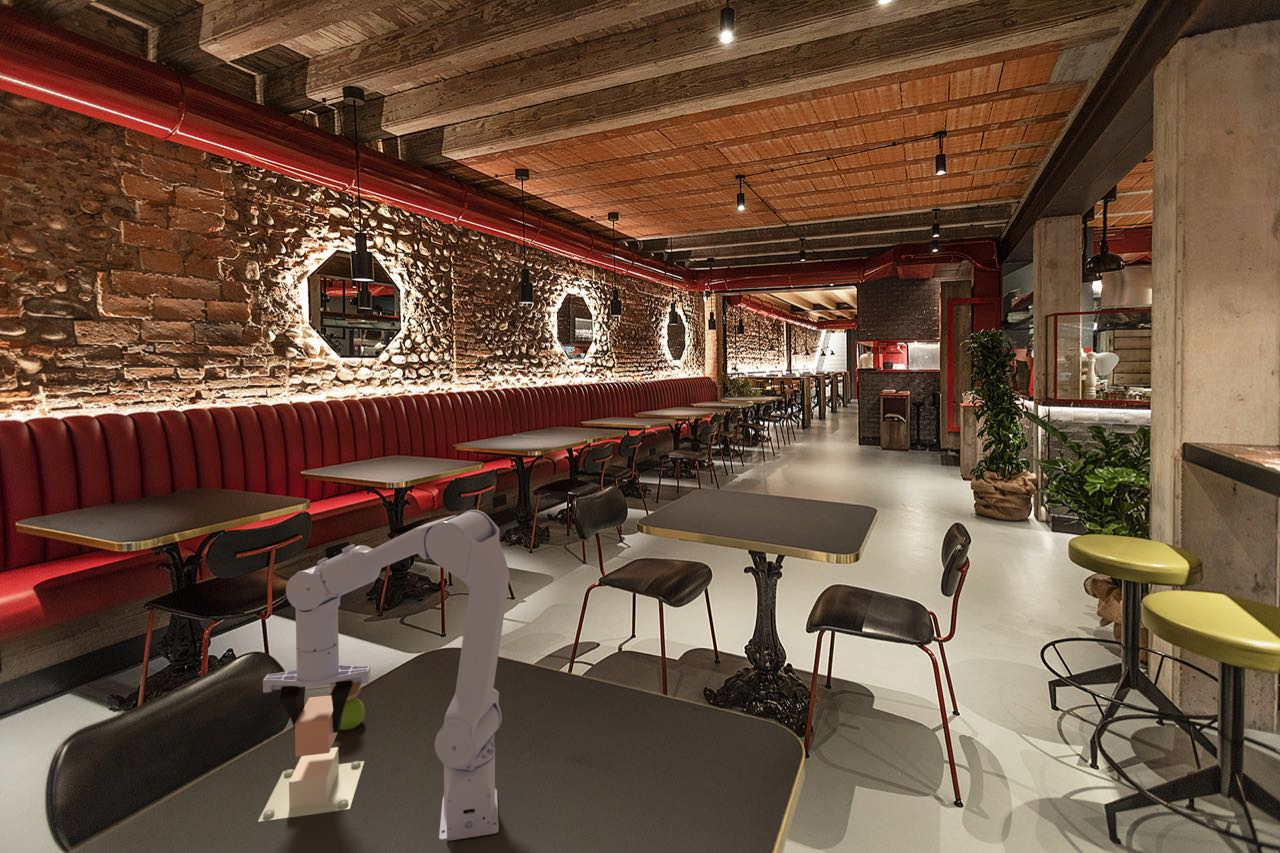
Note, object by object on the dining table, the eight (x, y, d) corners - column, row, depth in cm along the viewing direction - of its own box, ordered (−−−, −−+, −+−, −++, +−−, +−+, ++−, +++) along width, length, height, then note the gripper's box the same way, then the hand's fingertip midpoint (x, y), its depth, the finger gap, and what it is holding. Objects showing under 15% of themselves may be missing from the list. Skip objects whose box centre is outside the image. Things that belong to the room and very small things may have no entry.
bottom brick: (326, 803, 92) (326, 777, 92) (289, 808, 91) (288, 782, 91) (338, 771, 100) (338, 747, 100) (304, 775, 99) (303, 751, 98)
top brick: (329, 752, 92) (328, 720, 92) (295, 756, 91) (294, 723, 91) (340, 724, 100) (340, 694, 100) (310, 727, 99) (309, 697, 99)
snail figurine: (320, 734, 111) (319, 668, 111) (352, 717, 117) (351, 655, 116) (340, 742, 109) (339, 675, 108) (371, 725, 115) (371, 661, 114)
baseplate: (349, 812, 91) (349, 806, 91) (257, 825, 88) (257, 819, 88) (364, 764, 103) (364, 758, 103) (283, 774, 100) (283, 768, 100)
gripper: (373, 630, 100) (374, 712, 101) (273, 638, 97) (274, 722, 98) (365, 648, 93) (366, 736, 94) (257, 657, 90) (259, 748, 91)
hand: (318, 731), depth 95 cm, fingers closed on top brick, 4 cm apart
